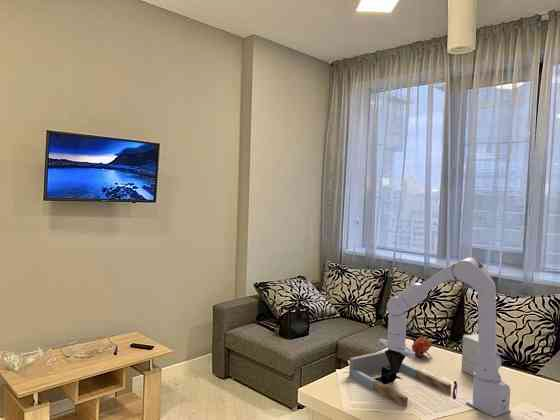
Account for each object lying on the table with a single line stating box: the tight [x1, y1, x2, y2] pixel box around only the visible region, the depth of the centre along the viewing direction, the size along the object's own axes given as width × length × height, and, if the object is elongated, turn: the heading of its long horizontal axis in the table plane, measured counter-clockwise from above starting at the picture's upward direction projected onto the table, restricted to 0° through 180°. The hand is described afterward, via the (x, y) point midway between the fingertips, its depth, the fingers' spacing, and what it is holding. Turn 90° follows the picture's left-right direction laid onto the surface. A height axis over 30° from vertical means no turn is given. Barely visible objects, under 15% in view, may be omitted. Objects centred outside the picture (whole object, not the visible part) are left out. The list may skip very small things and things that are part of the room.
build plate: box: [373, 365, 404, 385], centre depth 149 cm, size 12×7×5 cm, turn 121°
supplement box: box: [460, 333, 479, 377], centre depth 157 cm, size 7×7×13 cm
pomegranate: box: [411, 337, 433, 359], centre depth 171 cm, size 7×7×10 cm
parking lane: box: [348, 349, 452, 408], centre depth 146 cm, size 24×21×6 cm
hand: (394, 372), depth 147 cm, fingers closed
